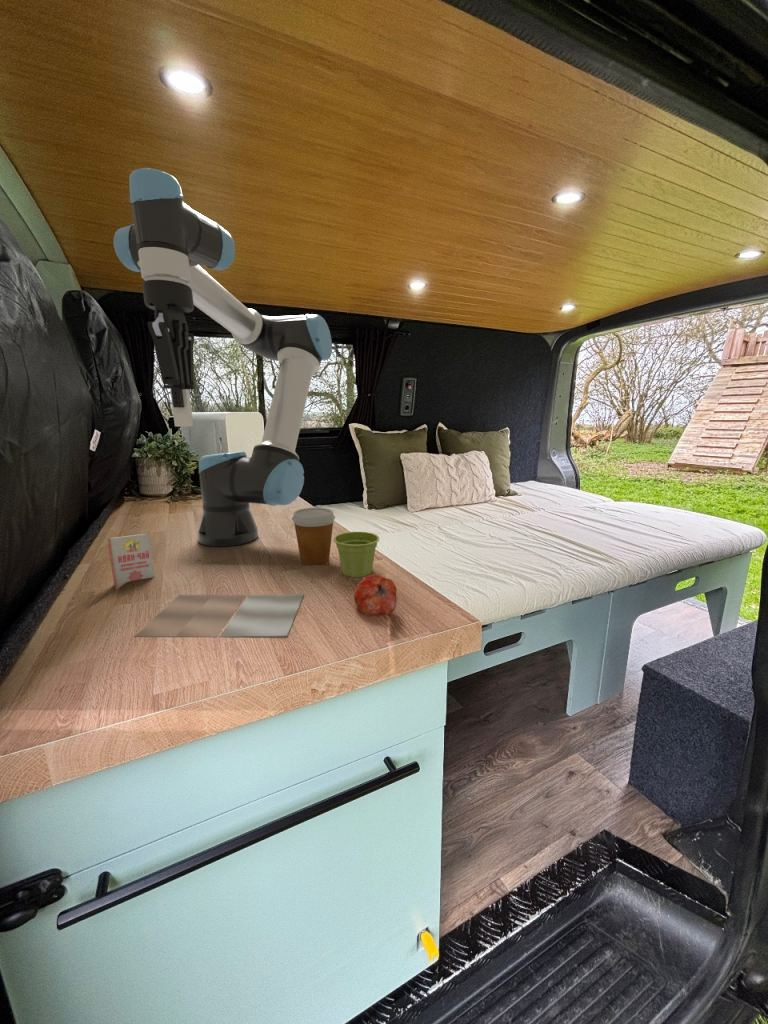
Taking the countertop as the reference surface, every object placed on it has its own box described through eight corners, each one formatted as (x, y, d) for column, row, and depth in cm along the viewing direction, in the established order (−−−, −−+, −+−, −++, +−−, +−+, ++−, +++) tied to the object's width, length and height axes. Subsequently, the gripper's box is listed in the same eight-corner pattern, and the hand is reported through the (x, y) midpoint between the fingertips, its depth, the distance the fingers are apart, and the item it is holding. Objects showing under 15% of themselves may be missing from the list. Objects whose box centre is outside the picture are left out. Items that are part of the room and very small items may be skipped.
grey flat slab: (249, 602, 74) (248, 595, 73) (304, 601, 74) (303, 594, 74) (220, 645, 60) (219, 636, 60) (287, 644, 60) (287, 635, 60)
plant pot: (325, 576, 86) (324, 537, 83) (357, 565, 92) (357, 528, 90) (355, 590, 79) (355, 548, 77) (388, 576, 86) (388, 537, 84)
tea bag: (115, 583, 81) (108, 536, 78) (154, 577, 84) (148, 531, 82) (115, 590, 78) (107, 541, 75) (155, 583, 81) (149, 535, 79)
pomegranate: (350, 621, 72) (354, 611, 63) (352, 580, 75) (357, 565, 66) (391, 623, 73) (401, 614, 64) (392, 583, 76) (402, 569, 67)
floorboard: (180, 601, 74) (179, 594, 73) (246, 602, 74) (246, 595, 73) (135, 645, 60) (134, 636, 60) (217, 645, 60) (216, 636, 60)
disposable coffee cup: (343, 565, 92) (342, 513, 89) (304, 573, 87) (302, 519, 84) (324, 553, 100) (323, 505, 97) (287, 560, 95) (285, 510, 92)
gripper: (162, 293, 75) (178, 424, 81) (122, 271, 62) (145, 428, 68) (204, 294, 75) (217, 424, 81) (172, 272, 63) (190, 428, 69)
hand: (184, 426), depth 75 cm, fingers closed
